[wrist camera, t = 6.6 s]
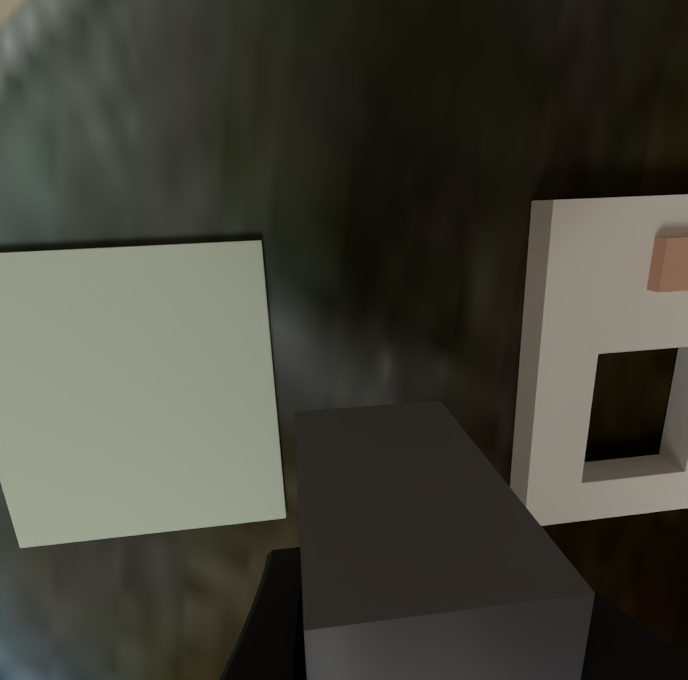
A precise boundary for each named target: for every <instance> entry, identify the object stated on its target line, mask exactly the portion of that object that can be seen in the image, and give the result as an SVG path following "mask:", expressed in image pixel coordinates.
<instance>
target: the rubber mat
mask: <svg viewBox="0 0 688 680" xmlns="http://www.w3.org/2000/svg"><path fill="white" fill-rule="evenodd" d="M0 482H1V485H2V489H3V492H4V496H5V499H6V502H7V506H8V509H9V512H10V516H11V519H12V523H13V526H14V529H15V533H16V536H17V539H18V543H19V546H20V548H25V547H34V546H43V545H52V544H61V543H70V542H79V541H87V540H96V539H105V538H114V537H123V536H132V535H141V534H149V533H158V532H167V531H176V530H185V529H194V528H203V527H211V526H220V525H229V524H238V523H247V522H256V521H265V520H273V519H282V518H286V506H285V495H284V484H283V473H282V462H281V450H280V439H279V428H278V417H277V406H276V395H275V384H274V372H273V361H272V350H271V339H270V328H269V317H268V306H267V294H266V283H265V272H264V261H263V250H262V240H251V241H230V242H209V243H188V244H167V245H147V246H126V247H105V248H84V249H63V250H42V251H21V252H1V253H0Z"/></svg>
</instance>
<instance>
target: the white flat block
mask: <svg viewBox="0 0 688 680" xmlns="http://www.w3.org/2000/svg"><path fill="white" fill-rule="evenodd" d="M677 347H678V352H677V358H676V363H675V369H674V374H673V380H672V385H671V391H670V396H669V402H668V407H667V413H666V418H665V424H664V429H663V435H662V440H661V446H660V451H659V454H657V455H647V456H638V457H629V458H620V459H610V460H601V461H592V462H584V460H585V452H586V444H587V436H588V429H589V421H590V413H591V405H592V398H593V390H594V382H595V374H596V367H597V359H598V354H603V353H615V352H627V351H640V350H652V349H665V348H677ZM510 488H511V489H512V490H513V492H514V493H515V494H516V495H517V497H518V498H519V499H520V500H521V502H522V503H523V504H524V505H525V507H526V508H527V509H528V510H529V512H530V513H531V514H532V515H533V517H534V518H535V519H536V520H537V522H538V523H539V524H540V525H541V526H544V525H552V524H560V523H569V522H577V521H585V520H593V519H601V518H610V517H618V516H626V515H634V514H642V513H651V512H659V511H667V510H675V509H683V508H688V194H681V195H657V196H633V197H609V198H585V199H561V200H537V201H532V204H531V217H530V230H529V243H528V256H527V269H526V282H525V295H524V308H523V321H522V334H521V348H520V361H519V374H518V387H517V400H516V413H515V426H514V439H513V452H512V465H511V478H510Z"/></svg>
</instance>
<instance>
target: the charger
mask: <svg viewBox="0 0 688 680" xmlns="http://www.w3.org/2000/svg"><path fill="white" fill-rule="evenodd" d="M295 430H296V455H297V479H298V503H299V527H300V552H301V576H302V600H303V624H304V642H305V658H306V673H307V680H581V674H582V668H583V662H584V656H585V650H586V644H587V638H588V632H589V626H590V620H591V614H592V608H593V602H594V596H595V593H594V591H593V590H592V589H591V588H590V586H589V585H588V584H587V583H586V581H585V580H584V579H583V578H582V576H581V575H580V574H579V573H578V571H577V570H576V569H575V568H574V566H573V565H572V564H571V563H570V561H569V560H568V559H567V558H566V556H565V555H564V554H563V553H562V551H561V550H560V549H559V548H558V546H557V545H556V544H555V543H554V541H553V540H552V539H551V538H550V536H549V535H548V534H547V533H546V532H545V530H544V529H543V528H542V527H541V525H540V524H539V523H538V522H537V520H536V519H535V518H534V517H533V515H532V514H531V513H530V512H529V510H528V509H527V508H526V507H525V505H524V504H523V503H522V502H521V500H520V499H519V498H518V497H517V495H516V494H515V493H514V492H513V490H512V489H511V488H510V487H509V485H508V484H507V483H506V482H505V480H504V479H503V478H502V477H501V475H500V474H499V473H498V472H497V471H496V469H495V468H494V467H493V466H492V464H491V463H490V462H489V461H488V459H487V458H486V457H485V456H484V454H483V453H482V452H481V451H480V449H479V448H478V447H477V446H476V444H475V443H474V442H473V441H472V439H471V438H470V437H469V436H468V434H467V433H466V432H465V431H464V429H463V428H462V427H461V426H460V424H459V423H458V422H457V421H456V419H455V418H454V417H453V416H452V414H451V413H450V412H449V411H448V410H447V408H446V407H445V406H444V405H443V403H442V402H441V401H432V402H418V403H405V404H392V405H379V406H365V407H352V408H339V409H326V410H312V411H299V412H295Z"/></svg>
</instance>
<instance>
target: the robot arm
mask: <svg viewBox="0 0 688 680" xmlns="http://www.w3.org/2000/svg"><path fill="white" fill-rule="evenodd" d="M592 590H593V589H592ZM593 591H594V590H593ZM594 593H595V596H594V602H593V608H592V614H591V620H590V626H589V632H588V638H587V644H586V650H585V656H584V662H583V668H582V674H581V680H688V655H687V654H685V653H684V652H682V651H681V650H679V649H678V648H676V647H674V646H673V645H671V644H670V643H668V642H667V641H665V640H664V639H662V638H661V637H659V636H658V635H656V634H655V633H653V632H652V631H650V630H649V629H647V628H646V627H645V626H643V625H642V624H640V623H639V622H637V621H636V620H634V619H633V618H632V617H630V616H629V615H627V614H626V613H624V612H623V611H621V610H620V609H619V608H617V607H616V606H615V605H613V604H612V603H610V602H609V601H608V600H606V599H605V598H603V597H602V596H601V595H599V594H598V593H597V592H595V591H594ZM220 680H307V673H306V658H305V642H304V624H303V600H302V576H301V552H300V547H297V548H287V549H278V550H272V551H271V552H270V553H269V554H268V555H267V559H266V564H265V568H264V572H263V575H262V578H261V582H260V585H259V588H258V591H257V593H256V596H255V599H254V602H253V604H252V607H251V610H250V612H249V614H248V617H247V619H246V622H245V624H244V627H243V629H242V631H241V634H240V636H239V639H238V641H237V643H236V646H235V648H234V650H233V652H232V654H231V657H230V659H229V661H228V663H227V665H226V667H225V669H224V671H223V673H222V675H221V677H220Z"/></svg>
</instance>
